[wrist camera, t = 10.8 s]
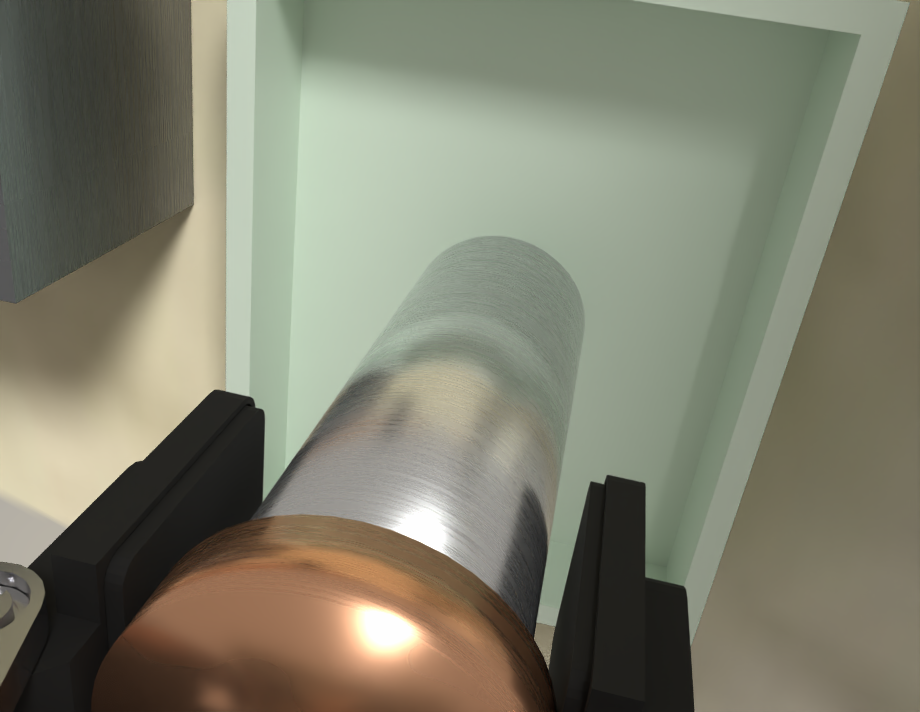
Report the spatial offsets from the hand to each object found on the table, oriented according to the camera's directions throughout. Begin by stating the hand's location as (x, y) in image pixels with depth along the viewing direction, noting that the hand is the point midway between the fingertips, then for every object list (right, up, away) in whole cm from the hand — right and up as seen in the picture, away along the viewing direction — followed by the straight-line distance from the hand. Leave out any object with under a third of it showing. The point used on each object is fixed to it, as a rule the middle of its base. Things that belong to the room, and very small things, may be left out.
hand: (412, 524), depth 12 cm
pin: (+1, +3, +7) cm, 8 cm away
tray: (+2, +4, +9) cm, 10 cm away
